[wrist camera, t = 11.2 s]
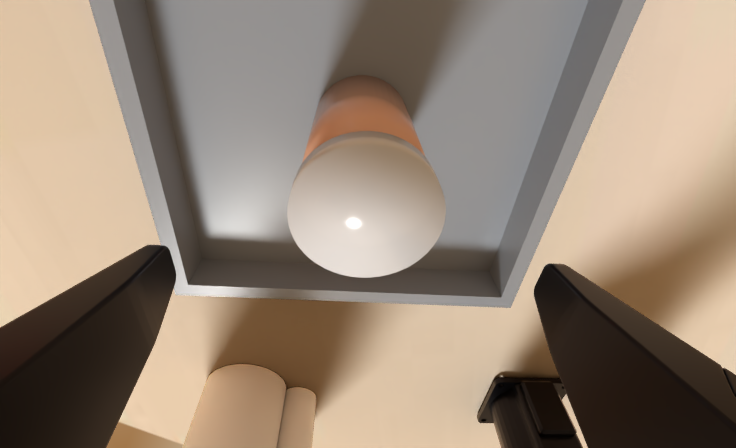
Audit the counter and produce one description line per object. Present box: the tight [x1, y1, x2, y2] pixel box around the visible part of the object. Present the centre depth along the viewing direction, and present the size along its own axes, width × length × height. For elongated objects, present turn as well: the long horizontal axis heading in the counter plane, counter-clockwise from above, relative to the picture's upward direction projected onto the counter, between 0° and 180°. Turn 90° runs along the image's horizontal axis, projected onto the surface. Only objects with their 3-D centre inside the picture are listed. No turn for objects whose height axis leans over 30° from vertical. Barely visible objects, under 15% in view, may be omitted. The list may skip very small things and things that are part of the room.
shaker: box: [287, 75, 446, 278], centre depth 14 cm, size 5×5×8 cm
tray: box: [89, 0, 646, 308], centre depth 17 cm, size 19×19×3 cm
